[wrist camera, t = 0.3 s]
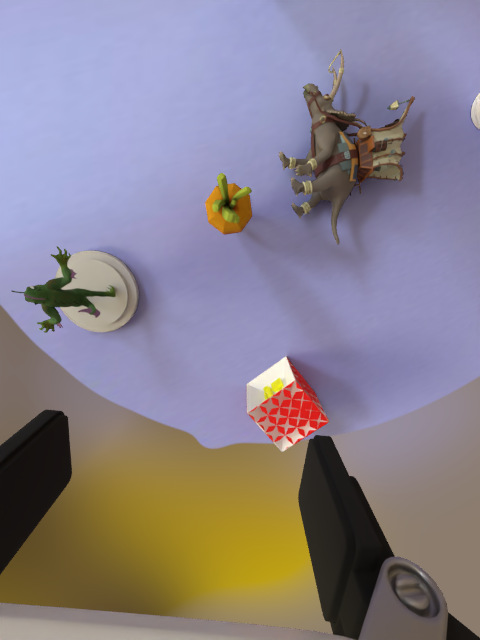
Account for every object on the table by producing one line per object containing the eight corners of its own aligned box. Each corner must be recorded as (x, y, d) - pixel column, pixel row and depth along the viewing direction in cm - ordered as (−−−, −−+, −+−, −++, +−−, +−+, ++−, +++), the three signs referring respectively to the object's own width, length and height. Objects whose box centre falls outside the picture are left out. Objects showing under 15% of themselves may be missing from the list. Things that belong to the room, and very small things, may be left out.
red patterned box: (286, 356, 42) (295, 379, 35) (314, 391, 44) (329, 421, 36) (246, 384, 44) (246, 413, 36) (275, 418, 45) (281, 452, 38)
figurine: (263, 69, 28) (423, 3, 27) (260, 103, 34) (391, 50, 33) (315, 253, 32) (459, 203, 31) (304, 255, 38) (424, 213, 36)
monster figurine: (67, 237, 38) (5, 233, 28) (148, 269, 39) (116, 276, 29) (50, 314, 41) (-11, 334, 31) (126, 341, 42) (90, 370, 32)
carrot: (219, 196, 37) (203, 160, 22) (254, 205, 37) (261, 177, 22) (211, 233, 38) (191, 223, 23) (245, 242, 38) (246, 237, 24)
